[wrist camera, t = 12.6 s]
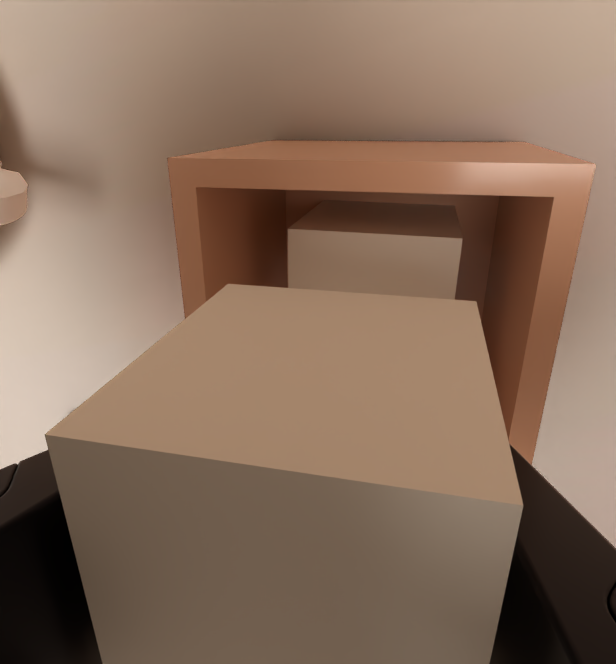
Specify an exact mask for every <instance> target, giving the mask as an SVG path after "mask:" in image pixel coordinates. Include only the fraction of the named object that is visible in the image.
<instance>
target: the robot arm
mask: <svg viewBox="0 0 616 664" xmlns="http://www.w3.org/2000/svg"><path fill="white" fill-rule="evenodd" d="M509 445H510V444H509ZM510 449H511V454H512V458H513V462H514V467H515V471H516V476H517V480H518V484H519V489H520V493H521V497H522V502H523V510H522V514H521V519H520V524H519V528H518V533H517V538H516V542H515V547H514V552H513V556H512V561H511V566H510V570H509V575H508V580H507V584H506V589H505V594H504V598H503V603H502V607H501V612H500V617H499V621H498V626H497V631H496V635H495V640H494V645H493V649H492V654H491V659H490V663H489V664H616V548H615V547H614V546H613V545H612V544H611V543H610V542H609V541H608V540H607V539H606V538H605V537H604V536H603V535H602V534H601V533H600V532H599V531H598V530H597V529H596V528H595V527H594V526H593V525H591V524H590V523H589V522H588V521H587V520H586V519H585V518H584V517H583V516H582V515H581V514H580V513H579V512H578V511H577V510H576V509H575V508H574V507H573V506H572V505H571V504H570V503H569V502H568V501H567V500H566V499H565V498H564V497H563V496H562V495H561V494H560V493H559V492H558V491H557V490H556V489H555V488H554V487H553V486H552V485H551V484H550V483H549V482H548V481H547V480H546V479H545V478H544V477H543V476H542V475H541V474H540V473H539V472H538V471H537V470H536V469H535V468H534V467H533V466H532V465H531V464H530V463H529V462H528V461H527V460H526V459H525V458H524V457H523V456H522V455H521V454H520V453H519V452H518V451H517V450H516V449H515V448H514V447H512V446H511V445H510ZM0 664H103V663H102V659H101V655H100V651H99V647H98V643H97V639H96V635H95V631H94V628H93V624H92V620H91V616H90V612H89V608H88V604H87V600H86V596H85V592H84V588H83V584H82V580H81V576H80V572H79V568H78V564H77V560H76V556H75V552H74V548H73V544H72V541H71V537H70V533H69V529H68V525H67V521H66V517H65V513H64V509H63V505H62V501H61V497H60V493H59V489H58V485H57V481H56V477H55V473H54V469H53V465H52V461H51V457H50V454H49V450H47V451H44V452H42V453H39V454H37V455H35V456H32V457H30V458H27V459H25V460H22V461H20V462H19V464H18V465H17V464H12V465H10V466H7V467H5V468H3V469H0Z"/></svg>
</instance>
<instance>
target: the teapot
mask: <svg viewBox="0 0 616 664" xmlns="http://www.w3.org/2000/svg"><path fill="white" fill-rule="evenodd" d="M1 166H2V163H1V160H0V226H1V225H5V224H8V223H11V222H14V221H16V220H18V219H19V218H21V217H22V216H23V215H24V214H25V212H26V210H27V187H28V184H27V183H26V181H25V180H24V179H23V177H22V176H21V175H20V173H19V172H15V171H10V170H5V169H2V168H1Z"/></svg>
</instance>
